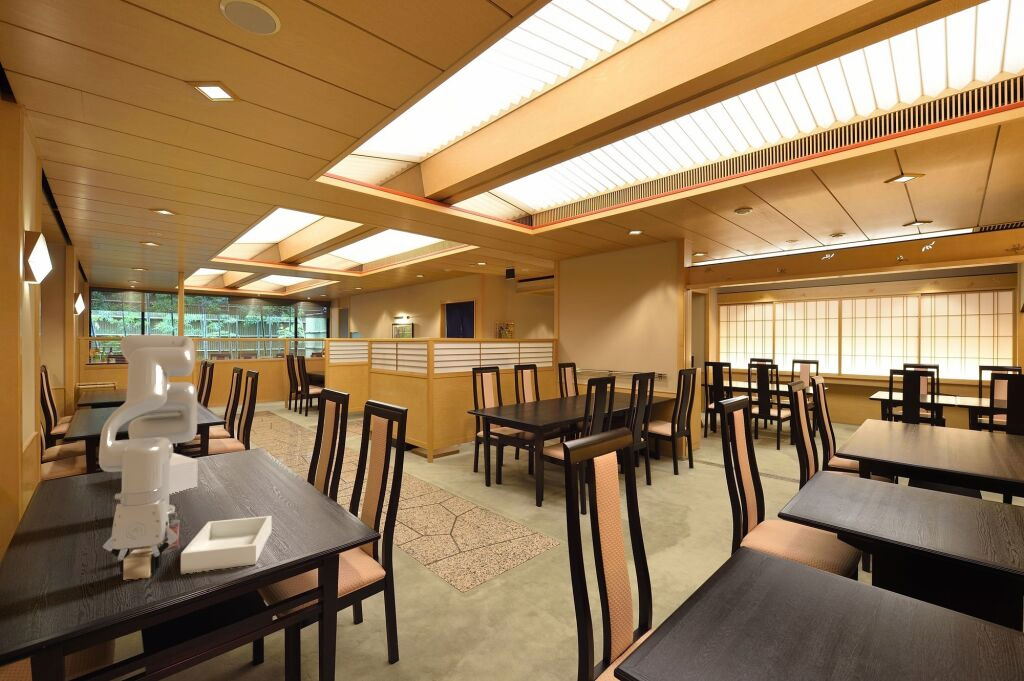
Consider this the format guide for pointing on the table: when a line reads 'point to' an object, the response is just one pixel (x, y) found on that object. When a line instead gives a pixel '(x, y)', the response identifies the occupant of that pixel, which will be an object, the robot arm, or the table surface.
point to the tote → (226, 544)
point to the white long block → (182, 473)
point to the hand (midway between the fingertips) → (141, 571)
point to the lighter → (174, 527)
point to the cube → (138, 564)
